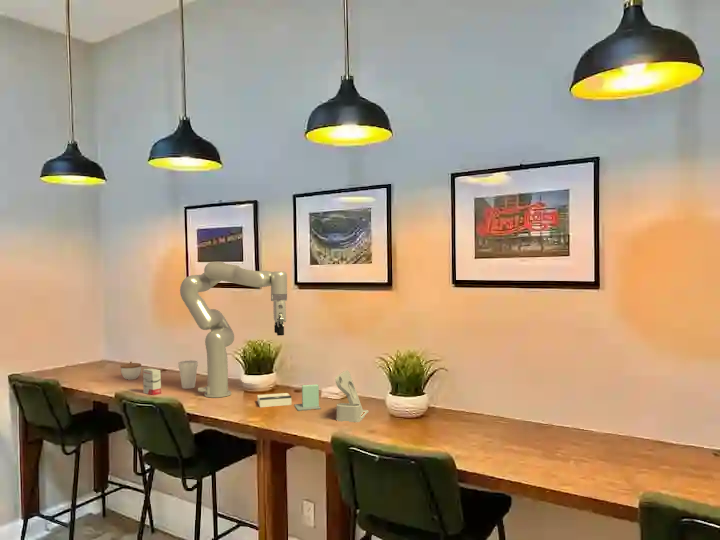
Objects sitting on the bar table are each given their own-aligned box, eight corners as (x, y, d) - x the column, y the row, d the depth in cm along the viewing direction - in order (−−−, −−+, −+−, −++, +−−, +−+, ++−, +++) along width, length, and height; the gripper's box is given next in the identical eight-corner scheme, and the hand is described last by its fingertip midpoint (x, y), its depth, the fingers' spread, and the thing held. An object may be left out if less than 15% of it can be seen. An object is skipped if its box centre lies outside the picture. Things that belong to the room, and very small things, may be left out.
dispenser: (259, 407, 265) (259, 398, 265) (257, 401, 275) (257, 392, 275) (291, 404, 268) (291, 395, 268) (287, 399, 279) (287, 390, 279)
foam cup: (175, 388, 305) (174, 363, 305) (185, 384, 314) (185, 360, 314) (191, 389, 302) (191, 363, 302) (201, 385, 311) (201, 360, 311)
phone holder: (359, 422, 238) (358, 377, 238) (334, 421, 241) (334, 376, 240) (369, 411, 255) (368, 369, 255) (346, 410, 257) (345, 368, 257)
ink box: (161, 393, 294) (161, 369, 294) (152, 395, 290) (152, 371, 290) (151, 391, 300) (151, 367, 299) (142, 393, 296) (142, 369, 296)
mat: (297, 410, 258) (297, 409, 257) (294, 405, 267) (294, 404, 267) (320, 409, 260) (320, 407, 260) (316, 403, 270) (316, 402, 270)
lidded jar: (121, 377, 336) (121, 360, 336) (142, 376, 340) (141, 359, 339) (120, 381, 326) (119, 363, 326) (140, 379, 329) (140, 362, 329)
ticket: (303, 407, 262) (302, 386, 262) (302, 405, 264) (301, 385, 264) (318, 405, 264) (318, 385, 264) (317, 404, 266) (317, 384, 266)
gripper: (289, 298, 275) (289, 336, 275) (284, 296, 292) (284, 331, 292) (273, 299, 273) (273, 336, 273) (269, 296, 290) (269, 332, 290)
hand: (279, 334), depth 283 cm, fingers open, 9 cm apart
